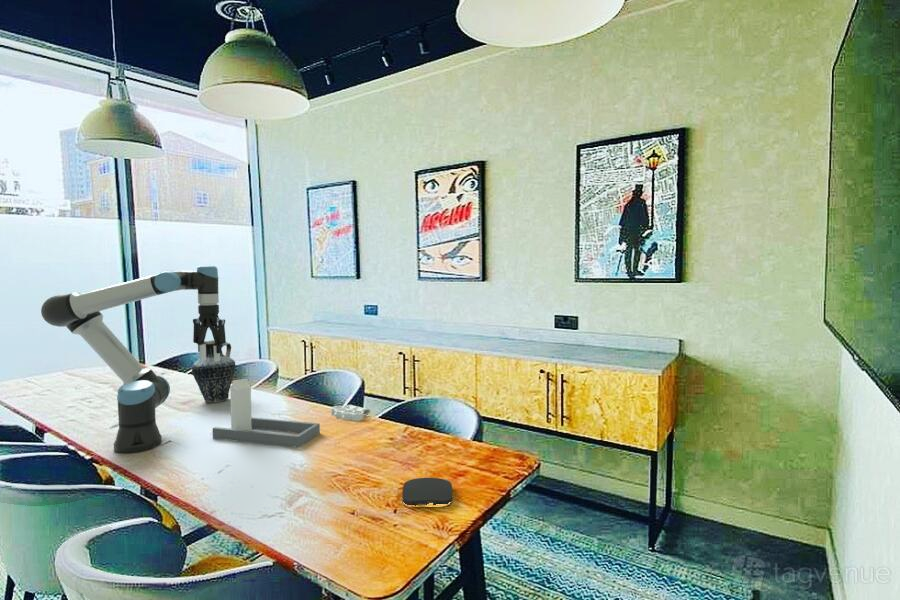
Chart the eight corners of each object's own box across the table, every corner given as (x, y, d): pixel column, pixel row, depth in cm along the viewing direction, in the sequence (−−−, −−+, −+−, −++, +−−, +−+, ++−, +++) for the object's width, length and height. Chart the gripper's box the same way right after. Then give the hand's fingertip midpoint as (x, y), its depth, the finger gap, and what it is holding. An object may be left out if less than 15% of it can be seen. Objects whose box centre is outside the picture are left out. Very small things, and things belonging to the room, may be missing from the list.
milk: (251, 433, 198) (251, 379, 197) (236, 436, 194) (235, 382, 193) (246, 429, 203) (245, 377, 201) (230, 432, 199) (230, 379, 197)
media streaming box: (451, 485, 154) (451, 476, 153) (452, 509, 139) (453, 498, 139) (404, 486, 153) (404, 476, 153) (401, 509, 138) (401, 499, 138)
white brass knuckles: (375, 416, 224) (351, 424, 212) (347, 409, 234) (323, 416, 222) (375, 408, 224) (351, 416, 212) (347, 402, 234) (323, 409, 222)
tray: (298, 447, 184) (298, 436, 183) (212, 438, 192) (212, 428, 192) (319, 433, 199) (319, 423, 199) (239, 425, 208) (239, 416, 208)
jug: (219, 407, 233) (217, 345, 231) (183, 404, 237) (181, 343, 235) (245, 396, 254) (244, 338, 251) (212, 393, 257) (211, 337, 255)
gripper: (235, 304, 200) (236, 360, 201) (195, 302, 204) (196, 357, 206) (222, 305, 192) (223, 363, 194) (181, 304, 197) (183, 361, 198)
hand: (210, 360), depth 200 cm, fingers open, 6 cm apart
